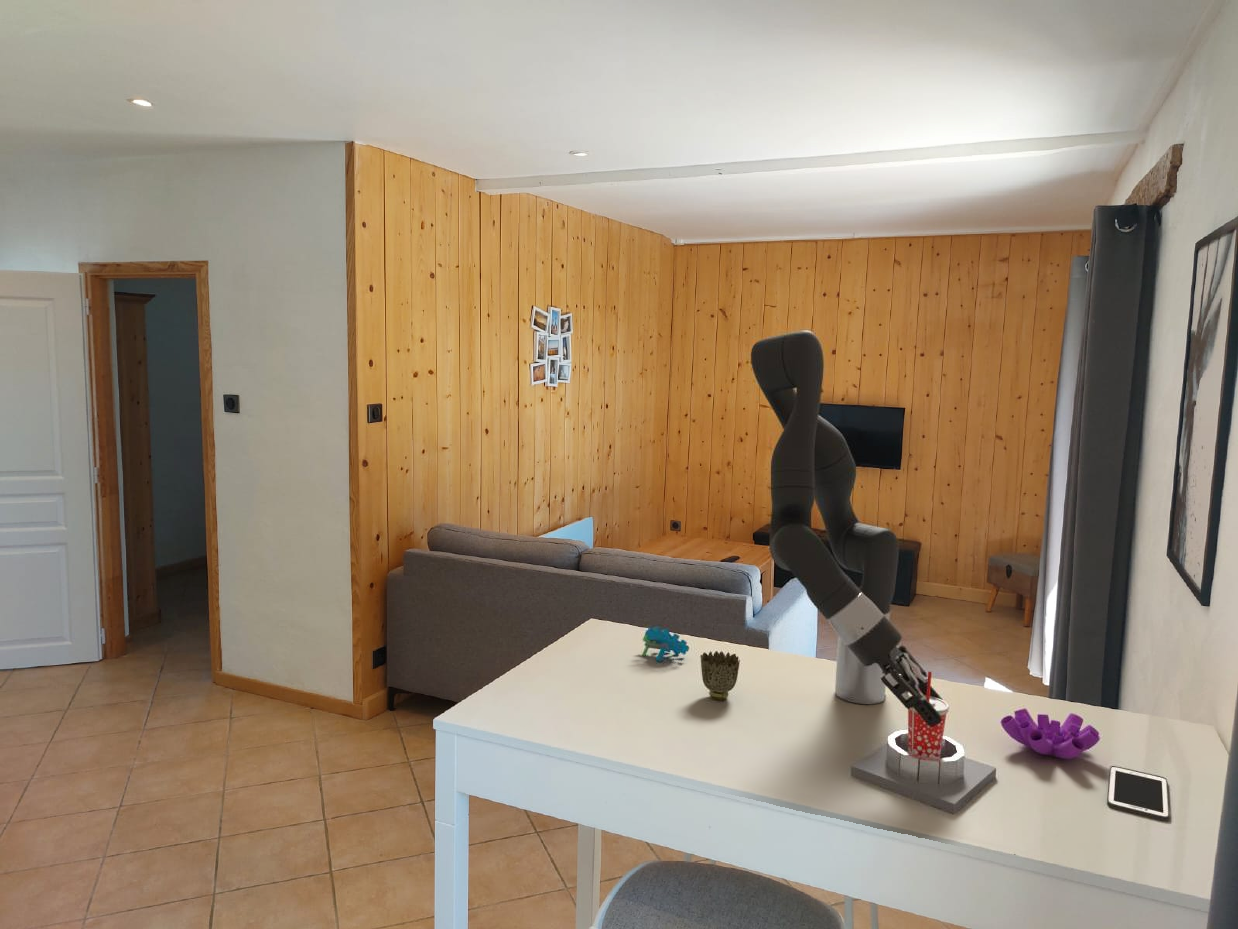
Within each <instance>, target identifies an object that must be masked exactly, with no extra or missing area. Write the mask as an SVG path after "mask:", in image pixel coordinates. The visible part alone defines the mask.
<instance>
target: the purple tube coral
mask: <svg viewBox="0 0 1238 929" xmlns="http://www.w3.org/2000/svg"><path fill="white" fill-rule="evenodd" d="M1013 713H1014V716H1013V715H1006V716H1004V717H1003V718H1002V719H1000V725H1001V727H1002V728H1003V730H1004V731H1005V732H1006V733H1007V735H1008V736H1009V737H1011V738H1012V739H1013V740H1015V741H1016V742H1018V743H1019V744H1021V745H1024V746H1025V747H1027V748H1030V749H1033V750H1034V751H1035V753H1038V754H1041V755H1044V756H1045V755H1046V756H1053V757H1056V758H1061V759H1067V760H1072V759H1075V758H1078V757H1080V756H1081V755H1082V753H1083V752H1085V751H1088V750H1090V749H1091V748H1092V747H1094V746H1095V745H1097V744H1098V743H1099V742H1100V740H1101V736H1100V732H1099V731H1098V730H1097V729H1096V728H1095V727H1093V725H1090V724H1088V725H1086V726H1085V727H1084V728H1082V726H1083V723H1084V718H1082V717H1081V716H1080V715H1078V714H1076V713H1071V712H1070V713H1069V715H1068V716H1067V717H1066V719H1065V721H1063V724H1062V725H1061V721H1059V720H1055V719H1051V720H1050V718H1049V714H1042V713H1041V714H1040V713H1039V714H1037V718H1036V719H1037V723H1036V722H1035V720H1034V719H1033V718H1032V716H1031V714H1030V712H1029V711H1028V710H1027V708H1024V707H1023V708H1021V709H1018V710H1014V712H1013ZM1081 728H1082V729H1081Z"/></svg>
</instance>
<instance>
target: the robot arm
mask: <svg viewBox="0 0 1238 929" xmlns="http://www.w3.org/2000/svg"><path fill="white" fill-rule="evenodd" d="M750 351H751V352H750V363H751V368H752V371H753V375H754V378H755V379H756V381H757V384H758V386H759V388H760V390H761V392H762V394H763V395H764V396H765V398H766V400H767V402H768V405H770V407H771V409H772V410H773V412H774V414H775V416H776V418H777V419H778V421H779V424H780V425H781V427H782V429H783V431H782V432H781V434H780V437H779V438H778V440H777V443H776V444H775V446H774V449H773V452H772V455H771V461H770V497H771V498H770V499H771V514H770V524H769V526H770V527H769V554H770V556H771V559H772V560H773V562H774V563H775V564H776V565H777V566H778V567H779V568H781V569H782V570H784V571H787V572H788V571H790V572H791V574H793V576H794V577H795V578H796V579H797V580H798V582H799V583H800V584H801V585H802V587H803V588H804V589H805V591H806V592H805V593H806V595H807V597H808V599H809V600H810V602H811V603H812V604H813V605H814V607H815V608H816V609H817V610H818V611H819V612H820V614H821V615H822V616H823V617H824V618H825V619H826V620H827V622H828V623H829V624H830V626H831V628H832V630H834V632H835V633H836V635H837V654H836V668H835V669H836V671H835V683H834V684H835V685H834V686H835V687H834V688H835V689H834V692H835V695H836V696H837V697H838V698H840V699H841V700H844V701H847V702H850V703H854V704H861V705H875V704H879V703H882V702H883V701H884V700H885V698H886V696H885V695H886V688H887V689H888V690H889V691H890V692H891V693H892V694H893V696H895V697H896V698H897V699H898V701H900V703H901V704H902V705H903V707H904V708H906V709H907V710H908V709H910V708H914V709H915V710H916V711H917V712H918V713H919V715H920V716H921V717H922V718H923V719H924V720H925V722H926V723H927V724H928V725H929V726H930V727H934V726H935V725H937V724H938V723H940V722H941V721H942V717H941V715H940V714H939V713H938V712H937V711H936V709H935V708H934V707H933V706H932V705H931V704H930V703H929V701H928V700H927V699H926V698H925V696H924V695H926V696H927V683H928V672H926V671H925V670H924V669H923V668H922V666H921V665H920V664H919V662H918V661H917V660H916V659H915V658H914V656H913V655H912V654H911V652H910V651H909V650H908V649H907V647H906V646H905V645H903V644H901V645H900V646H899V647H897V646H898V645H899V644H900V642H901V641H902V639H903V638H902V634H901V633H900V632H899V630H898V629H897V628H896V627H895V625H893V624H892V623H891V621H890V616H891V604H892V601H893V598H894V595H895V592H896V581H897V572H898V566H899V565H898V564H899V555H900V554H899V553H900V548H899V547H900V546H899V541H898V538H897V535H896V533H894V531H892V530H891V529H888V528H885V527H880V526H875V525H869V524H865V523H862V522H861V521H860V520H859V519H858V517H857V515H856V513H855V512H854V509H853V506H852V503H851V496H852V492H853V489H854V486H855V482H856V479H857V478H856V477H857V467H856V462H855V459H854V457H853V454H852V453H851V449H850V448H849V446H848V442H847V440H846V438H845V436H844V435H843V434H842V432H841V431H839V430H838V429H837V428H836V427H835V426H834V425H833V424H832V423H830V422H829V421H828V420H826V419H825V418H823V416H821V415H820V414H819V413H820V407H821V406H820V404H821V396H822V390H823V380H824V368H825V367H824V365H825V364H824V363H825V362H824V355H823V348H822V345H821V342H820V339H819V338H818V337H817V336H816V334H815V333H814V332H812V331H810V330H798V331H793V332H790V333H789V332H788V333H784V334H780V335H775V336H770V337H767V338H764V339H760V340H757V341H756V342H755V343H754V344H753V345H752V348H751V350H750ZM795 389H796V390H795ZM815 504H816V506H817V509H818V512H819V514H820V515H821V518H822V522H823V525H824V527H825V532H826V534H827V537H828V541H829V544H830V548H831V550H832V553H833V555H832V554H831V552H830V550H829V549H828V547H827V545H826V544H825V543H824V542H823V541H822V539H821V538H820V537H819V536H818V535H817V534H816V532H814V530H812V510H813V507H814V505H815ZM840 566H841V567H842V568H844V569H846V570H849V571H852V572H855V573H859V574H862V578H861V579H862V580H861V585H860V586H859V587H858V586H857V585H856V584H855V582H854V581H853V580H852V579H851V578H850V577H849V576H848V575H847V574H846V573H845V572H844V571H843V569H841V567H840ZM909 694H910V695H909ZM910 696H911V697H910ZM930 696H932V697H936V698H939V699H941V700H944V699H943V698H942V697H941V695H940V694H939V693H938V692H937V691H936V690H935V688H933V686H931V687H930Z"/></svg>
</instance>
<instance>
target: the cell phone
mask: <svg viewBox="0 0 1238 929" xmlns="http://www.w3.org/2000/svg"><path fill="white" fill-rule="evenodd" d="M1168 782H1169V781H1168V780H1167V778H1166V777H1164V776H1161V775H1157V774H1156V775H1155V774H1153V773H1148V772H1143V771H1139V770H1134V769H1130V768H1125V767H1122V766H1117V765H1111V766H1110V767H1109V776H1108V786H1107V797H1106V798H1107V799H1106V805H1107V807H1108V808H1110V809H1113V810H1116V811H1121V812H1123V813H1128V814H1132V815H1136V816H1140V817H1145V818H1149V819H1153V820H1157V821H1161V822H1169V821H1170V817H1171V816H1170V797H1169V785H1168Z"/></svg>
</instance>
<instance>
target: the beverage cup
mask: <svg viewBox="0 0 1238 929" xmlns="http://www.w3.org/2000/svg"><path fill="white" fill-rule="evenodd" d="M927 679H928V683H927V696H926V695H924V696H925V698H926V699H927V700H928V701H929V703H930V704H931V705H932V706H933V707H934V708H935V709H936V711H937V712H938V713H939V714H940V715H941V717H942V721H941V722H940V723H938V724H937V725H935V726H934V727H930V726H929V725H928V724H927V723H926V722H925V720H924V719H923V718H922V717H921V716H920V715H919V713H918V712H917V711H916V710H915V709H914V708H910V709H907V730H908V753H911V754H914V755H916V756H919V757H926V758H934V759H940V754H941V747H942V740H943V736H944V733H945V725H946V718H947V714H948V713H949V709H950V705H949V703H948V702H946V701H945V700H944V699H943V700H941V699H939V698H936V697H932V696H930V687H932V685H931V684H932V670H929V669H928V672H927ZM911 696H912V695H909V697H911Z"/></svg>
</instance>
